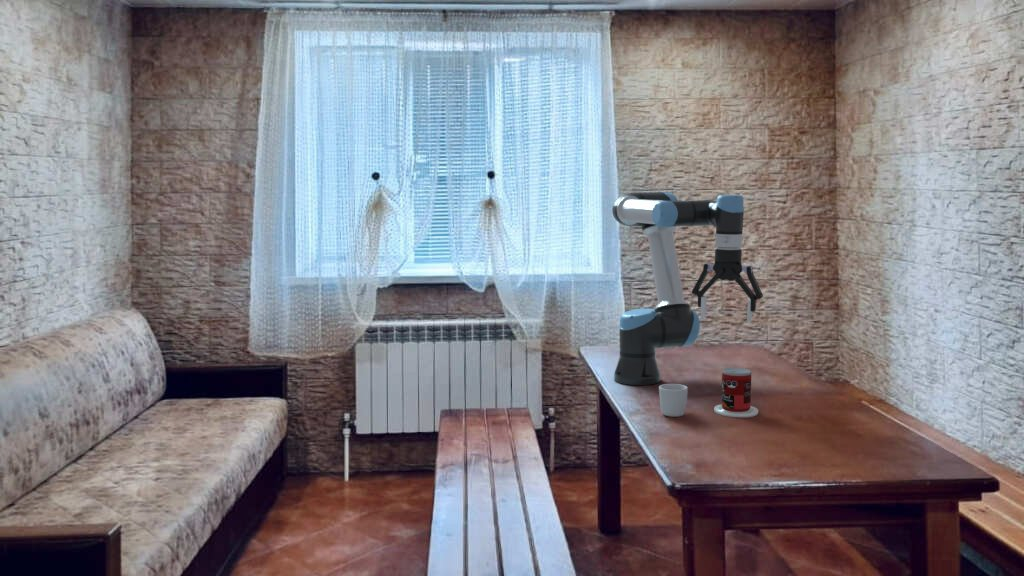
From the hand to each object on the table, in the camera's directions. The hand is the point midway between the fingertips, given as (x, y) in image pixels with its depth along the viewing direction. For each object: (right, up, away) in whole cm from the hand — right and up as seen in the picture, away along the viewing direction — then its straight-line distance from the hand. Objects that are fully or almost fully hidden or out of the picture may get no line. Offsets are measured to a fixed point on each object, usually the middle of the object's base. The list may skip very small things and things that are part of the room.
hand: (725, 320), depth 241 cm
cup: (-17, -26, -10) cm, 33 cm away
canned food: (0, -25, -9) cm, 26 cm away
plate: (+1, -26, -9) cm, 27 cm away
